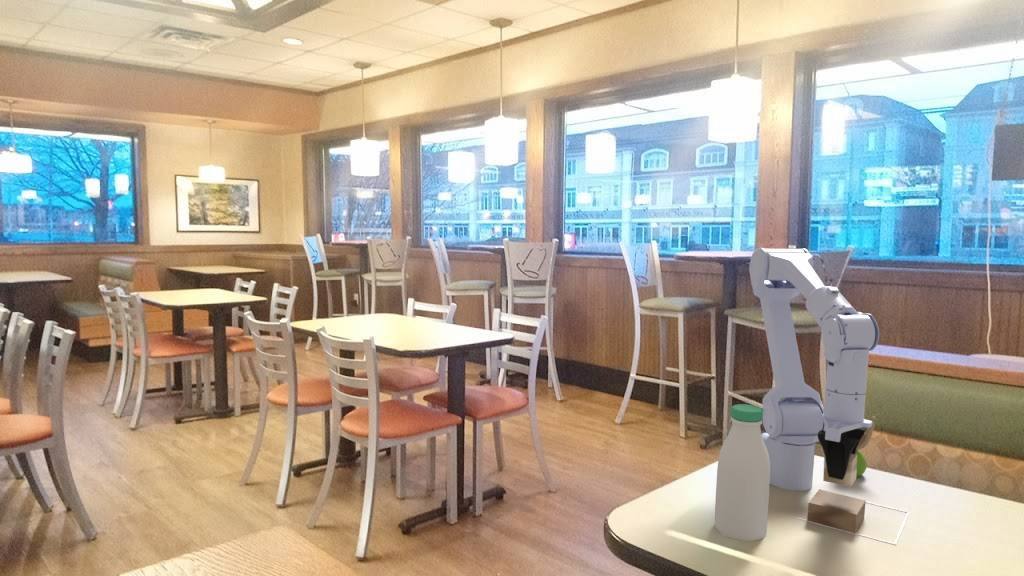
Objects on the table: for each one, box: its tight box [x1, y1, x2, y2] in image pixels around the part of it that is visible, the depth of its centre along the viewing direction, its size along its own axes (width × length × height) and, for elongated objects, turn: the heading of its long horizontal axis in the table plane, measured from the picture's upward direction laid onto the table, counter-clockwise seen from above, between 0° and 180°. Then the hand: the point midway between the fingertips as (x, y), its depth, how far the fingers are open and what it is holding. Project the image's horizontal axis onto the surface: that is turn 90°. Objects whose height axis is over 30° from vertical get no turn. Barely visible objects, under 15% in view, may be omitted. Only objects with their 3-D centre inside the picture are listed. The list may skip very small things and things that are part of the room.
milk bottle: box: [714, 403, 771, 542], centre depth 106 cm, size 8×8×20 cm
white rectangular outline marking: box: [796, 501, 911, 546], centre depth 113 cm, size 15×15×1 cm
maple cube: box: [823, 454, 857, 488], centre depth 110 cm, size 4×4×4 cm
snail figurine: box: [855, 415, 877, 478], centre depth 130 cm, size 5×6×12 cm
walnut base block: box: [806, 489, 867, 534], centre depth 111 cm, size 7×7×3 cm
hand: (839, 473), depth 110 cm, fingers closed on maple cube, 4 cm apart
